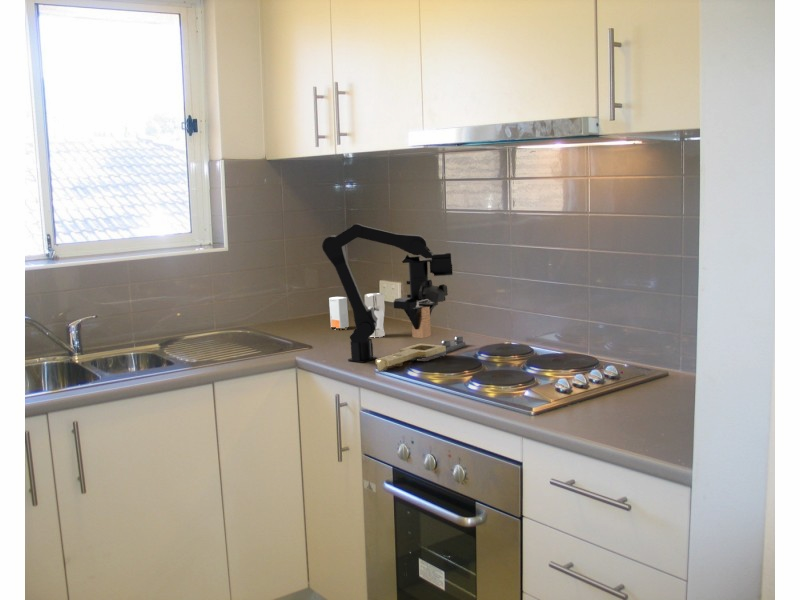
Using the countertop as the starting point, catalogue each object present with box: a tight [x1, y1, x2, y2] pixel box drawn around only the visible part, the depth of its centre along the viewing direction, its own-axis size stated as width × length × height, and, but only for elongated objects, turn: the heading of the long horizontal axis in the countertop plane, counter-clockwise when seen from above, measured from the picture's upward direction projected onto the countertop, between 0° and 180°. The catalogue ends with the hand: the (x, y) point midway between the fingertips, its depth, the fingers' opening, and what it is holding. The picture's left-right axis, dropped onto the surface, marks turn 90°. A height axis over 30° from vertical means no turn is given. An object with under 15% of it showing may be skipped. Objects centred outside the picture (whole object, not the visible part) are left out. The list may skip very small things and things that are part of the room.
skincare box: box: [328, 296, 350, 328], centre depth 306 cm, size 6×4×12 cm
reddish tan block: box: [411, 306, 432, 339], centre depth 246 cm, size 4×4×9 cm
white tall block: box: [364, 292, 386, 339], centre depth 286 cm, size 7×7×15 cm
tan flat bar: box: [374, 335, 466, 372], centre depth 248 cm, size 41×10×3 cm, turn 141°
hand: (421, 328), depth 247 cm, fingers closed on reddish tan block, 4 cm apart
